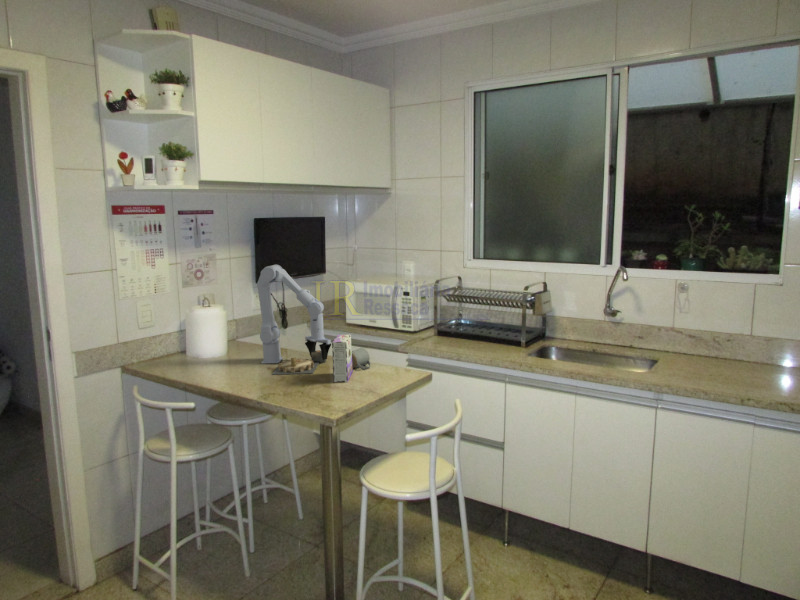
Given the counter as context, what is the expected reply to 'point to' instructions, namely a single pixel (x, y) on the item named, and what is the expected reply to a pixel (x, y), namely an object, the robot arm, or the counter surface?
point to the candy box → (342, 358)
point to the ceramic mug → (360, 359)
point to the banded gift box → (317, 357)
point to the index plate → (296, 372)
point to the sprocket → (296, 365)
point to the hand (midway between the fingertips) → (318, 358)
